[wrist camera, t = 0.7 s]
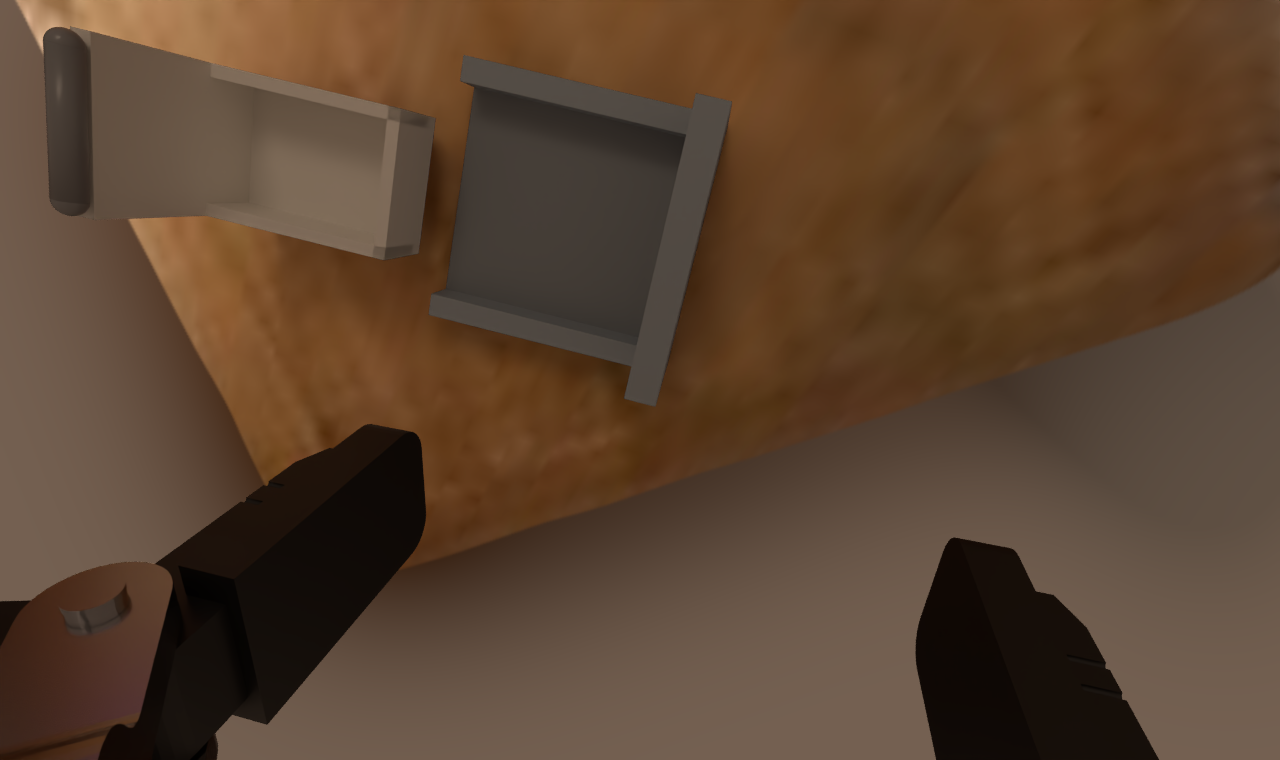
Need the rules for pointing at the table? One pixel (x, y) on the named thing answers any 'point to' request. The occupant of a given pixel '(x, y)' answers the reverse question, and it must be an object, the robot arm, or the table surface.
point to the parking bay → (580, 216)
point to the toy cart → (228, 147)
